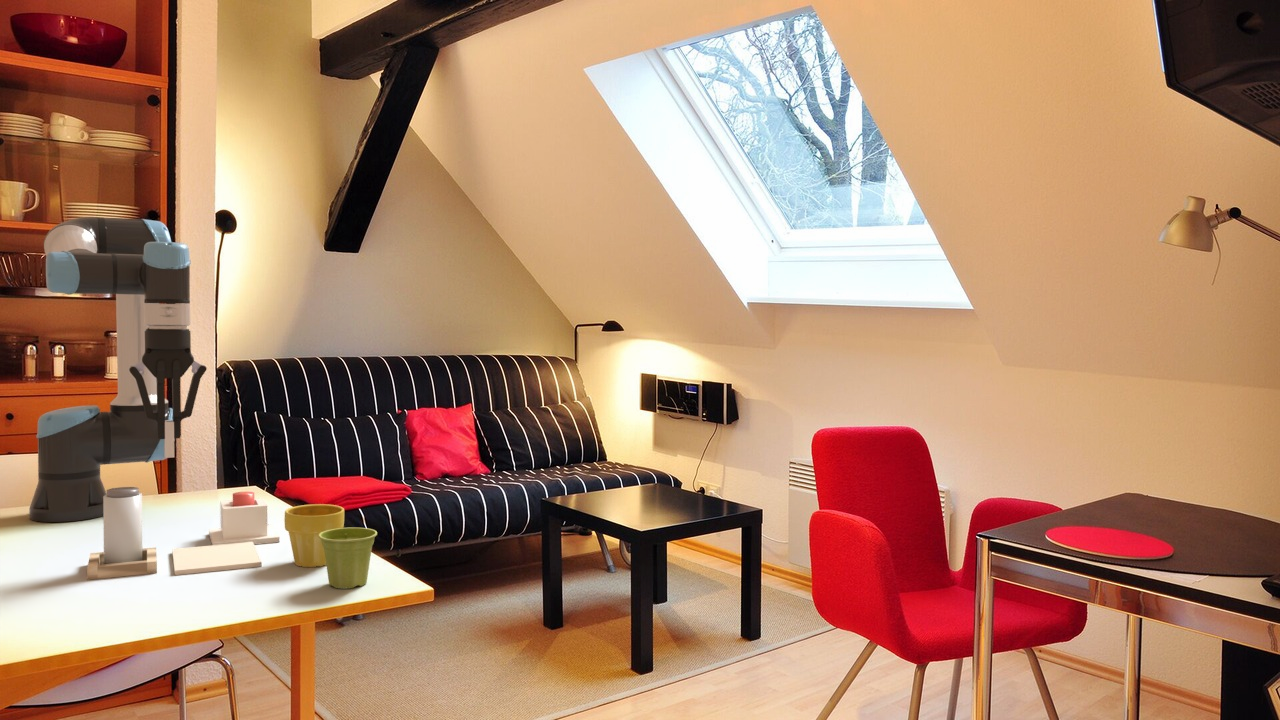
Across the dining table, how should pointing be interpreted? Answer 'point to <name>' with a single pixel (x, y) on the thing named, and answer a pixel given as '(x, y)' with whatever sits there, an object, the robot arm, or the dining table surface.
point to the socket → (121, 566)
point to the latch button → (243, 499)
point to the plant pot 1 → (311, 531)
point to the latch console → (244, 524)
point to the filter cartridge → (122, 525)
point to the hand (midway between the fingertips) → (169, 456)
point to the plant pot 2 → (347, 555)
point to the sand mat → (215, 558)
